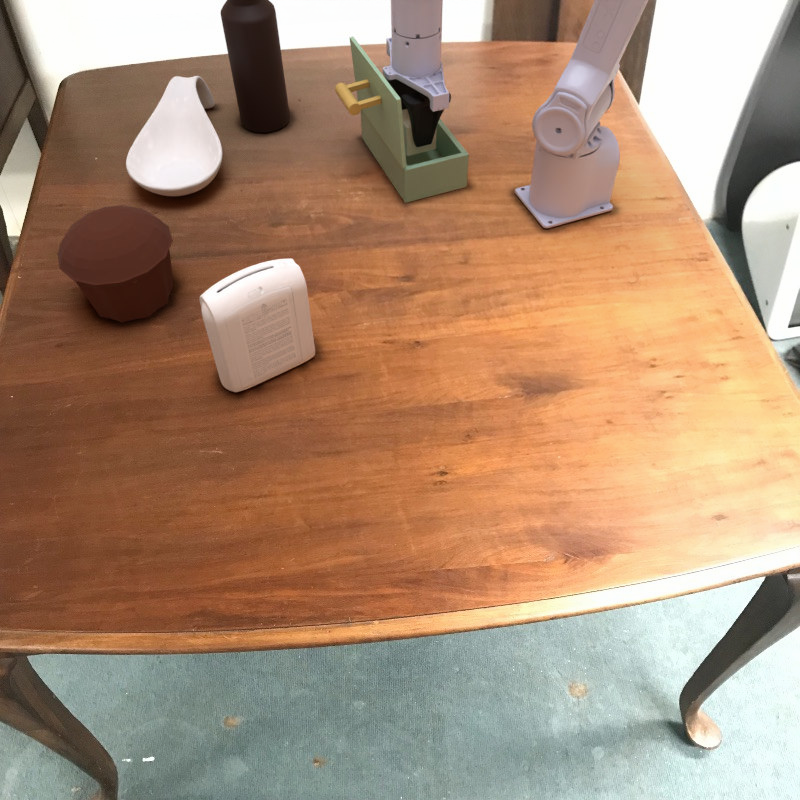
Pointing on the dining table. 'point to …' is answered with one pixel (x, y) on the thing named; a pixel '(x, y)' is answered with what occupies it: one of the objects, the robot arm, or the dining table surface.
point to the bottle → (256, 63)
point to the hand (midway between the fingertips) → (416, 134)
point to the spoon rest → (177, 142)
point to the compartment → (421, 164)
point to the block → (408, 137)
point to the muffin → (119, 261)
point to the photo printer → (258, 323)
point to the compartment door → (374, 101)
